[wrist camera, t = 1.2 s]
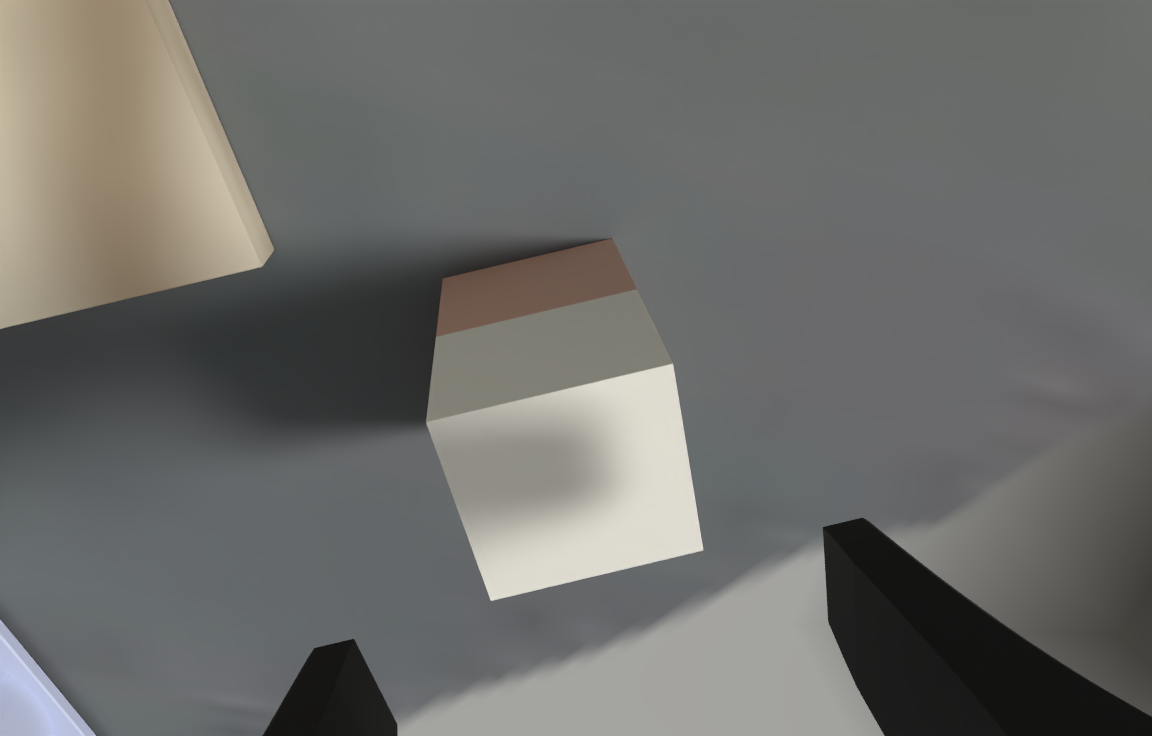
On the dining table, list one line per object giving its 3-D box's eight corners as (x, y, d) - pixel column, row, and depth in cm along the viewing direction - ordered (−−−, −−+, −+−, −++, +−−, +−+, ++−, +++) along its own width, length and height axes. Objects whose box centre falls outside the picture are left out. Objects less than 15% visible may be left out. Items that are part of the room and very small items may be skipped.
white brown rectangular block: (487, 420, 22) (490, 600, 16) (443, 277, 19) (425, 422, 13) (639, 384, 22) (703, 550, 16) (611, 238, 19) (673, 364, 13)
